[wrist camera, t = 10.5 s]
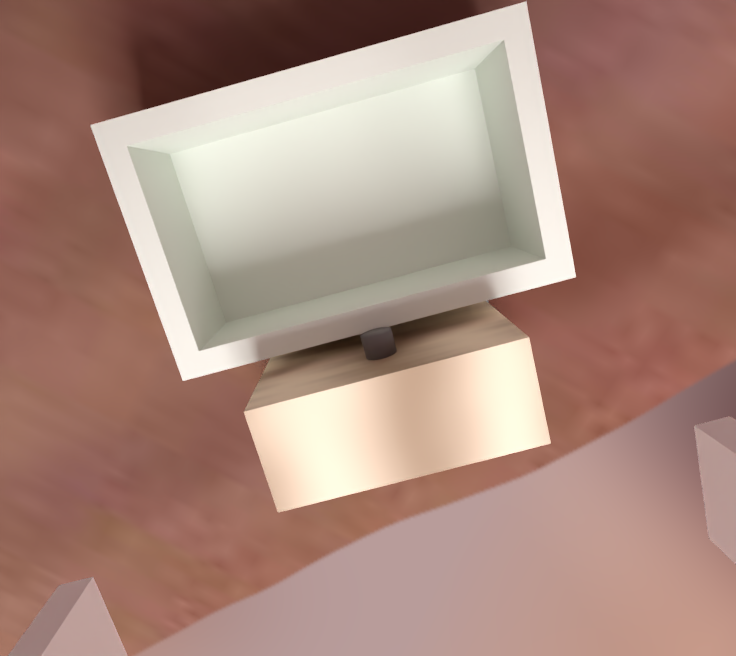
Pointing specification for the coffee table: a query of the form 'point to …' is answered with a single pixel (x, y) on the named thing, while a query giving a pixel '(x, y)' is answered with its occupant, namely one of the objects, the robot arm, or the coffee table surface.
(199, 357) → the box
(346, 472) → the knobbed wooden block
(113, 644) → the robot arm
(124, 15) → the coffee table surface
